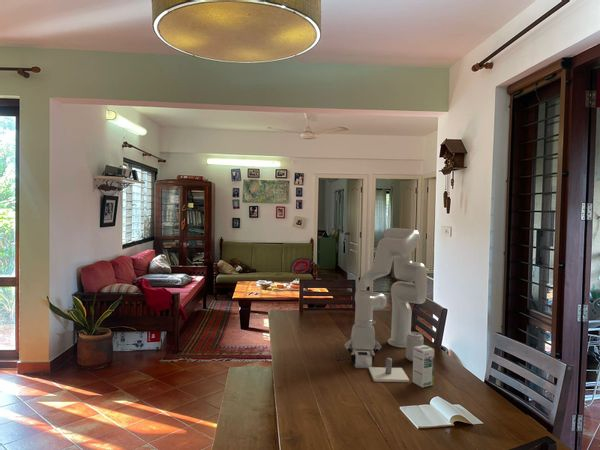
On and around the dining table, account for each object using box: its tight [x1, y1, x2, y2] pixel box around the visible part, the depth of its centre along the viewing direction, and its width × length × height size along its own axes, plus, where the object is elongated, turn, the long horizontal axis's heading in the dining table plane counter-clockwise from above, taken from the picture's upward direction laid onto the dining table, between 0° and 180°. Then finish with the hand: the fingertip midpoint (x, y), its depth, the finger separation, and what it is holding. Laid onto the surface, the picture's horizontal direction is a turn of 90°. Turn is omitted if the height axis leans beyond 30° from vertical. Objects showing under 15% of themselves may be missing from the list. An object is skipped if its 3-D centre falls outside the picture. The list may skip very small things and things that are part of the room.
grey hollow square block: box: [353, 350, 373, 369], centre depth 181 cm, size 7×7×5 cm
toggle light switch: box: [368, 357, 410, 383], centre depth 170 cm, size 14×12×7 cm
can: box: [405, 331, 425, 362], centre depth 189 cm, size 8×8×12 cm
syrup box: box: [412, 344, 435, 388], centre depth 163 cm, size 6×6×14 cm
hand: (362, 362), depth 181 cm, fingers closed on grey hollow square block, 7 cm apart
